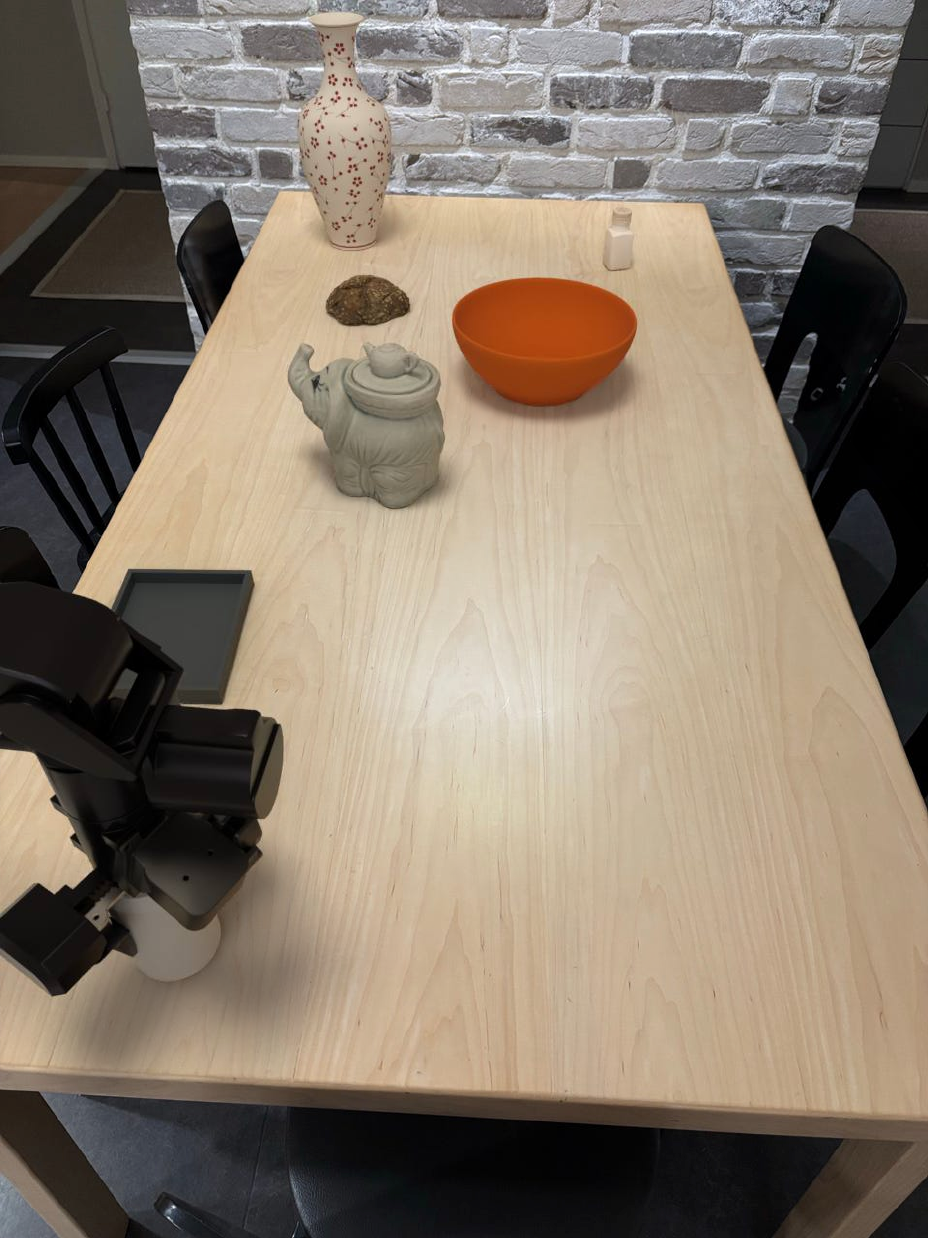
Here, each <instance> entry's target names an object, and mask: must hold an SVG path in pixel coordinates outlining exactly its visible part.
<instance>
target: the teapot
mask: <svg viewBox="0 0 928 1238" xmlns="http://www.w3.org/2000/svg"><path fill="white" fill-rule="evenodd" d="M362 347H363V350H364V352H365V353H366V355H365V356H364V357H361V358H358V359H357V360H356V359H353V358H347V357H341V358H336V359H334V360H332V361H331V362H329V363H328V364H326V365H325V367H323V368H322V369H321V370H318V371H314V370H312V368H311V367H310V360H311V358H312V356H314V354H315V349H314V347H313V346H311V345H310V344H308V343H305V342H302V343H301V344H300V345H299V346H298V349H297V351H296V352H295V354H294V356H293V358H292V360H291V361H290V364H289V366H288V370H287V383H288V385H289V387H290V390H291V391H292V393H293V394H294V396H295V397H296V398H297V399H298V400H299V402H301V407H302V409H303V413H304V414H305V417H307V419H308V420H309V421H310V422H311V423H312V424H313V425H314V426H316V427H317V428H318V429H320V430H321V432H322V436H323V441H324V443H325V445H326V447H327V449H328V459H329V461H330V463H331V464H332V467H333V470H334V482H335V485H336V487H337V489H338V490H339V491H340V492H341V493H342V494H344V495H346V496H349V497H364V496H365V497H366V496H367V497H371V498H374V499H375V500H377V501H378V502H379V504H381V505H382V506H385V507H386V508H390V509H398V508H399V509H400V508H405V507H406V506H409V505H411V504H413V503H414V502H415V501H416V500H417V499H419V497H420V496H421V495H422V494H423V493H424V492H425V491H427V490H428V489H430V488H431V487H433V486H434V485H435V484H436V483H437V481H438V478H439V470H440V469H439V467H440V459H441V454H442V452H443V449H444V444H445V442H446V434H445V431H444V417H443V412H442V408H441V407H440V404H439V401H438V399H437V398H438V396H439V393H440V390H441V387H442V381H441V373H440V371H439V370H438V368H437V367H436V366H435V365H434V364H432V362H430V361H428V360H425V359H423V358H421V357H419V354H417V353H416V352H414V351H408V350H407V349H406V348H405V346H403V345H401V344H399V343H395V342H387V343H383V344H381V345H378V346H376V345H373V344H372V343H370V342H368V341H366V342H364V343H363V345H362Z"/></svg>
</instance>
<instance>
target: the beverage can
mask: <svg viewBox="0 0 928 1238" xmlns="http://www.w3.org/2000/svg"><path fill="white" fill-rule="evenodd" d="M108 913H109V916H111V917H112V918H113V919H115V920H116V921H118V922H119V923H120V924H122V925H123V926H124V927H126V928H127V929H129V930H130V933H129V934H128V936H129V937H130V939H131V940H132V941H133V943H134V944H135V946H136V949H137V954H136V955H135V956H134V957H132V958H133V961H134V962H135V965H136V966H137V968H138V969H139V971H141V972H142V974H144V975H145V976H146V977H148V978H150V979H152V980H156V981H158V982H159V981H160V982H177V981H180V980H181V981H182V980H184V979H187V978H189V977H191V976H194V975H195V974H196V973H198V972H199V971H201V970H202V969H204V967H205V966H207V965H208V964H209V962H210V961H211V960H212V959H213V958H214V955H215V954H216V952H217V951H218V948H219V945H220V942H221V936H222V927H221V922H220V919H219V916H218V914H217V915H216V916H215V917H214V919H213V920H212V921H211V922H210V923H209V924H208V925H207V926H206V927H205V928H204V929H201V930H199V931H190V930H187V929H186V928H184V927H183V926H182V925H181V924H179V923H178V921H177V920H176V919H175V918H174V917H172V916H171V915H170V914H169V913H168V912H167V911H165V910H164V909H163V908H162V907H161V906H160V905H158V904H157V903H156V902H155V901H154V900H153V899H151V898H150V897H149V896H148V895H147V893H141V892H140V893H139V894H138V895H137V896H136V897H135V898H133V897H132V896H130V895H129V894H127V893H125V894H124V895H123V896H122V897H121V898H120V899H119V900H118V901H117V902H116V903H115V904H114V905H113V906H112V907H111V908H110V909H109V910H108Z"/></svg>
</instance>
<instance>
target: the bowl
mask: <svg viewBox="0 0 928 1238" xmlns="http://www.w3.org/2000/svg"><path fill="white" fill-rule="evenodd" d="M451 325H452V330H453V335H454V338H455V341H456V343H457V346H458V348H459V350H460V352H461V354H462V355H463V357H464V359H465V360H466V362H467V363H468V364H469V366H470V367H471V368H472V369H473V371H474V372H475V373H476V374H477V375H478V376H479V377H480V378H481V379H482V380H483V381H485V383H487V384H488V385H489V386H490V387H491V388H492V389H494V391H495V392H496V393H497V394H498V395H500V396H501V397H503V398H504V399H506V400H508V401H511V402H513V403H516V404H519V405H523V406H530V407H542V408H543V407H556V406H562V405H566V404H569V403H572V402H575V401H577V400H579V399H580V398H581V397H582V396H584V395H585V394H586V393H587V392H590V390H592V389H593V388H595V387H596V386H598V385H599V384H600V383H602V382H603V381H604V380H606V378H607V377H609V376H610V375H611V374H612V373H613V372H614V371H615V370H616V369H617V368H618V366H619V365H620V364H621V363H622V361H624V359H625V357H626V355H627V354H628V352H629V351H630V349H631V346H632V344H633V342H634V340H635V338H636V334H637V330H638V318H637V315H636V312H635V311H634V309H633V308H632V306H631V305H630V304H628V302H626V301H625V300H624V299H623V298H621V297H620V296H619V295H617V294H615V293H613V292H612V291H609V290H607V289H604V288H602V287H599V286H598V285H597V286H596V285H593V284H590V283H586V282H583V281H577V280H572V279H566V278H557V277H540V276H539V277H537V276H536V277H519V278H518V277H517V278H511V279H505V280H499V281H496V282H492V283H488V284H485V285H481V286H480V287H478V288H475V289H473V290H471V291H470V292H468V293H467V294H465V295H464V296H463V297H462V298H460V299H459V300H458V302H457V303H456V304H455V306H454V308H453V311H452V314H451Z"/></svg>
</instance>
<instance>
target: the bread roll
mask: <svg viewBox="0 0 928 1238" xmlns="http://www.w3.org/2000/svg"><path fill="white" fill-rule="evenodd" d="M410 307H411V302H410V297H408V295H407V292H405V291H404V290H403V289H401V288H400V287H399V286H398V285H395V283H393V282H391V281H390V280H388V279H387V278H384V277H380V276H375V275H373V274H361V275H360V274H356V275H353V276H351V277H350V278H348V279H346V280H344V281H342V282H341V283H340V284H339V285H337V286H336V287H334V288H333V290H332V291H331V292H330V293H329V296H328V297H327V299H326V300H325V310H326V311H327V312H328V313H330V314H332V315H334V316H336V319H337V321H338V322H340V323H341V324H343V325H347V326H360V325H362V324H363V325H376V324H379V323H384V322H387V321H390V320H391V319H394V318H396V317H401V316H404V315H406V314H407V312H408V311H409V310H410Z"/></svg>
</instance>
